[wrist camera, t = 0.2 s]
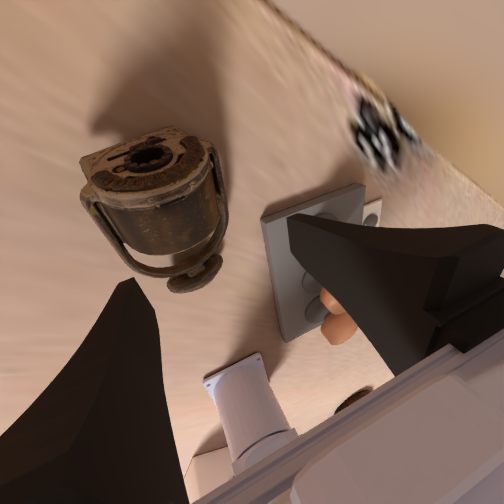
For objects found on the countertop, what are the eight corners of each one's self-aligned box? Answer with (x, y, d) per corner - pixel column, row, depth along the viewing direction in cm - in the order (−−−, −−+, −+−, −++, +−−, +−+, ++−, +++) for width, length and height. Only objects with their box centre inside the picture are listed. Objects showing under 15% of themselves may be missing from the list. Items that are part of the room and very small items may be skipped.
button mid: (344, 289, 29) (360, 304, 27) (314, 304, 28) (329, 320, 26) (345, 263, 26) (363, 276, 24) (313, 277, 25) (329, 293, 23)
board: (348, 302, 36) (356, 309, 34) (281, 335, 33) (287, 344, 32) (356, 182, 25) (367, 186, 24) (260, 218, 23) (267, 225, 22)
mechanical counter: (281, 135, 14) (68, 104, 9) (257, 315, 19) (113, 372, 14) (219, 132, 19) (60, 111, 14) (213, 275, 24) (95, 304, 19)
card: (369, 277, 35) (372, 279, 34) (352, 285, 34) (355, 288, 34) (380, 198, 28) (383, 200, 27) (358, 207, 27) (362, 209, 27)
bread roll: (341, 397, 53) (360, 420, 50) (372, 378, 59) (390, 398, 56) (324, 424, 59) (340, 447, 55) (353, 404, 64) (369, 423, 61)
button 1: (342, 320, 32) (357, 335, 30) (316, 333, 31) (329, 350, 29) (343, 298, 29) (359, 313, 27) (315, 312, 29) (329, 329, 26)
